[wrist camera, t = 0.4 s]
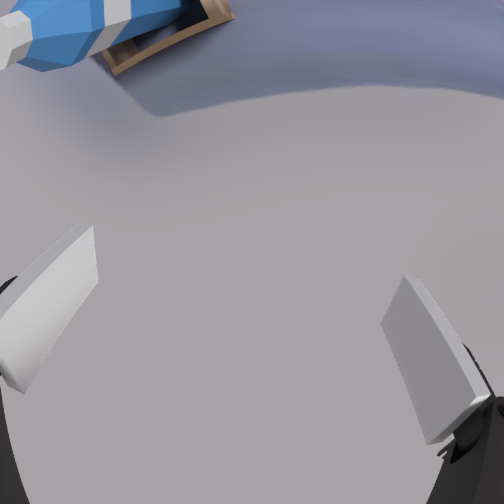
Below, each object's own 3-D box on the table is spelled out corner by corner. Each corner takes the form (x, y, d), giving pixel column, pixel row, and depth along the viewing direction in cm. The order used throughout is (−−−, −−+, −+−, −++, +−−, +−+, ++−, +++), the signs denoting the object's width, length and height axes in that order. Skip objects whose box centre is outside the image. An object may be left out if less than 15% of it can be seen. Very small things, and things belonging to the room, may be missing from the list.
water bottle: (119, 17, 27) (-35, 92, 12) (142, -41, 20) (-29, -15, 5) (177, 35, 30) (33, 118, 14) (206, -25, 23) (51, -18, 7)
